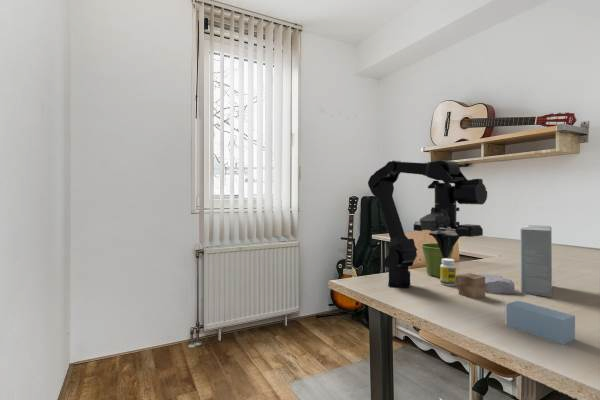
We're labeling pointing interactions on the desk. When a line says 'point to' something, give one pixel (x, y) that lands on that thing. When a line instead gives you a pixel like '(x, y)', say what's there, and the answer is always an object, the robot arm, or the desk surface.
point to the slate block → (540, 321)
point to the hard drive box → (536, 260)
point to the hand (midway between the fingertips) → (445, 257)
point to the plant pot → (433, 258)
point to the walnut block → (472, 285)
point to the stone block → (498, 284)
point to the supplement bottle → (448, 272)
